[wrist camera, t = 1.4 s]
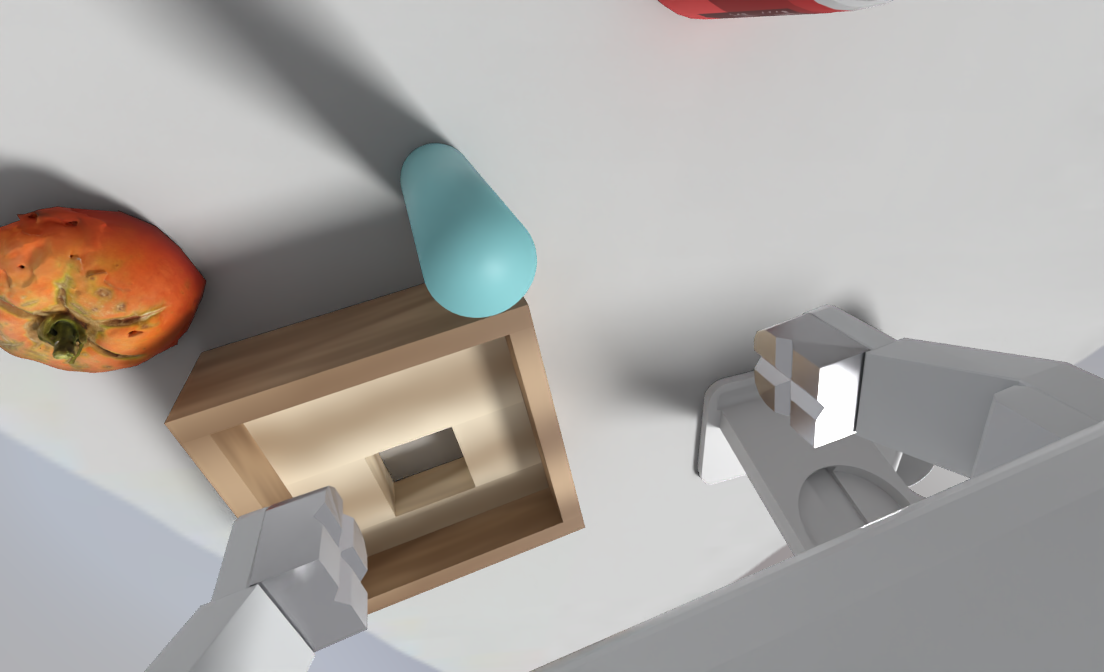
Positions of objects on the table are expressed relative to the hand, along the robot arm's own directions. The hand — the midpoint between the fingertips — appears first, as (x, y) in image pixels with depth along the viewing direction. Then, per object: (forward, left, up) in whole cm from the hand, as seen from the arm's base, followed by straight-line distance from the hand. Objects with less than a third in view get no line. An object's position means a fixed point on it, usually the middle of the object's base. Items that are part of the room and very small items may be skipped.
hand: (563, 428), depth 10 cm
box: (+13, -6, -20) cm, 25 cm away
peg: (0, 0, -20) cm, 20 cm away
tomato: (0, -16, -21) cm, 26 cm away
